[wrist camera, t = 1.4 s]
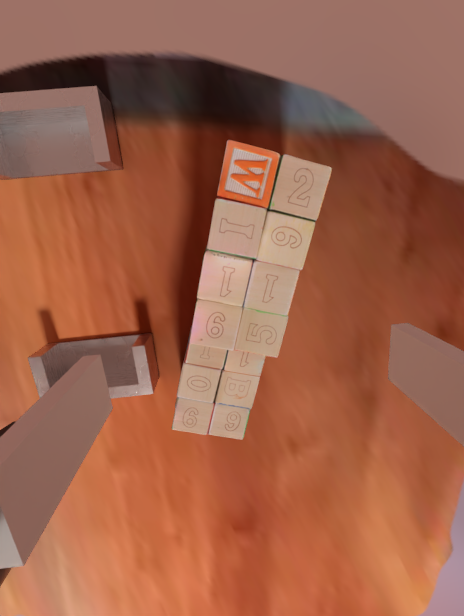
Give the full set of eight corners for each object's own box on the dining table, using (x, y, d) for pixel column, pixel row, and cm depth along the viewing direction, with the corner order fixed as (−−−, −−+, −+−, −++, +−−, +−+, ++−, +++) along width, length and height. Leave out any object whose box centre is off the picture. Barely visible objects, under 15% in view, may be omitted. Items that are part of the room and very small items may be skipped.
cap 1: (112, 104, 26) (96, 85, 22) (123, 169, 27) (110, 161, 24) (-16, 114, 25) (-52, 97, 22) (2, 179, 27) (-29, 173, 23)
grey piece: (60, 387, 32) (42, 405, 29) (47, 343, 31) (27, 357, 28) (159, 376, 33) (153, 393, 29) (151, 332, 31) (144, 345, 28)
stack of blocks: (235, 384, 34) (246, 470, 22) (180, 375, 33) (162, 458, 21) (285, 190, 28) (336, 165, 17) (222, 174, 28) (227, 135, 16)
